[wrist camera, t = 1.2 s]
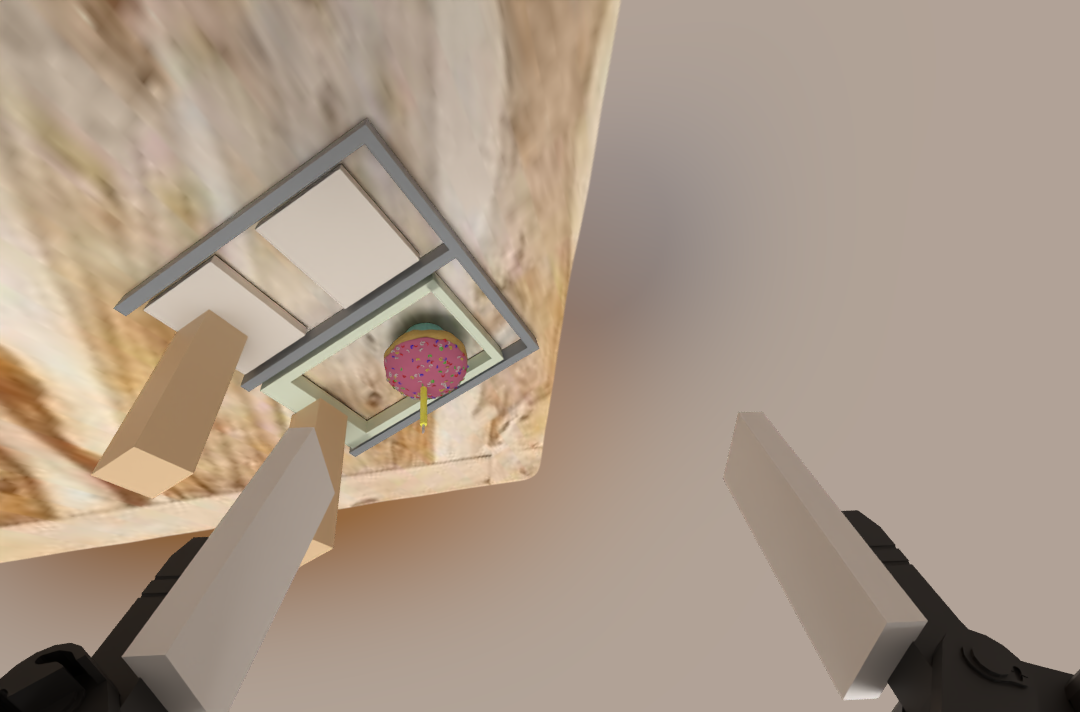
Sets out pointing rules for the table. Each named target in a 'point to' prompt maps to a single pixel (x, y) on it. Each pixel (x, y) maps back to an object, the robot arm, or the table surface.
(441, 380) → the cupcake
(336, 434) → the pale green frame
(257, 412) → the table surface
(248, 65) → the table surface
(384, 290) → the board
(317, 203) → the broken strip
